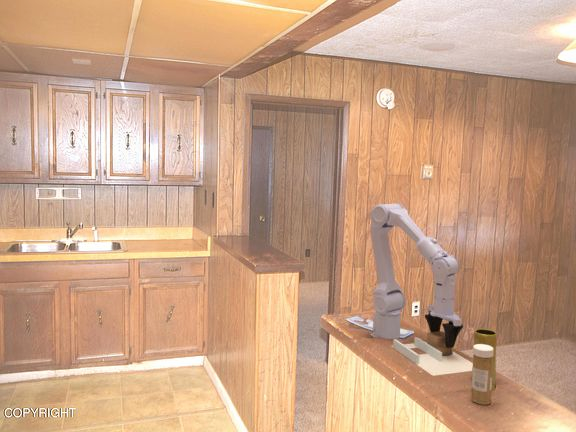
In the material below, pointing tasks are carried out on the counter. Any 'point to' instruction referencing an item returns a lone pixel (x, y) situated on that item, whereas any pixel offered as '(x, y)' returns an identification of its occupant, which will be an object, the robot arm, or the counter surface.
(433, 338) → the walnut block
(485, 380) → the sprinkles bottle
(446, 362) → the board
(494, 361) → the vase
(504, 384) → the counter surface
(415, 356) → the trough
